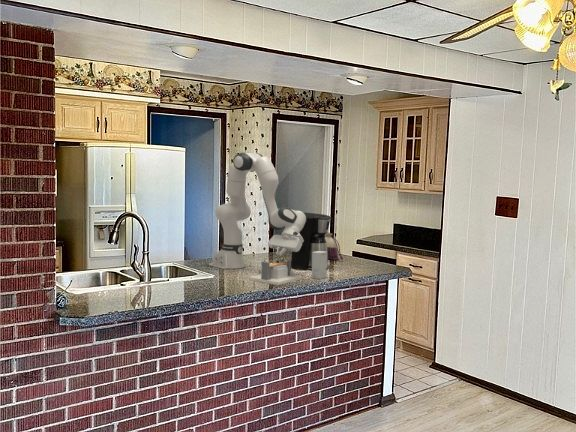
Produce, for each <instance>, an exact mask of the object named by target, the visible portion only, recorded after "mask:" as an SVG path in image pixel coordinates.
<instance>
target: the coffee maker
mask: <svg viewBox="0 0 576 432" xmlns="http://www.w3.org/2000/svg"><path fill="white" fill-rule="evenodd" d="M303 213H304V214H305V216H306V222H305V225H304V227H303V229H302V230H301V231H300V235H301V236H302V238H303V240H304V241H303V243H302V246H301V248H300V250H299V251H298V252H294V251H291V257H290V260H291V269H292V270H293V269H295V270H302V271H312V252H315V251H326V252H327V243H326V240H325V237H324V236H325V234H326V233H327V232H328V233H329V227H330V223H331V220H332V217H331V216H330V215H329V214H328V215H327V214H321V213H315V212H303ZM328 261H329V259H328V252H327V263H328ZM279 262H280V260H276V262H275V263H279ZM284 265H287V264H284ZM328 268H329V265H328V264H327V269H328Z"/></svg>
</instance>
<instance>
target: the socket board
mask: <svg viewBox="0 0 576 432" xmlns="http://www.w3.org/2000/svg"><path fill="white" fill-rule="evenodd" d="M279 262H285V259H283V258H280V260H279ZM286 262H287V265H284V264H282V265H278V266H273V267H269V265H270V264H271V263H270V261H265V260H264V261H261V274H257V275H252V276H249V277H248V281H254V282H258V283H259V282H260V283H264V284H270V285H274V286H281V285H284V284H288V283H293V282H296V281H298V280H299V281H300V280H302V279H303V276H302V275H297V274H291V273H292V272H291V271H292V268H291V259H288V260H286Z"/></svg>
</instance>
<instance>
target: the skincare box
mask: <svg viewBox="0 0 576 432" xmlns="http://www.w3.org/2000/svg"><path fill="white" fill-rule="evenodd" d="M327 265H328V262H327V252H326V251H315V252H312V270H311V278H312V279H318V280H322V279H325V278H327V277H328V276H327V274H328V268H327Z"/></svg>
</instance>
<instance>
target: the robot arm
mask: <svg viewBox="0 0 576 432" xmlns="http://www.w3.org/2000/svg"><path fill="white" fill-rule="evenodd" d="M232 160H233V161H232V163H231V164H230V166H229V169H228V172H227V173H228V174H227V178H226V179H227V181H226V194H227V195H228V196H229V199H230V203H223V204H220V205H218V206H217V207H216V209H215V217H216V219H217V220H218V221H219V222H220V224H221V226H222V229H223V243H222V244H221V245H220V248H221V249H220V250H219V251H218V252H216V253H214V255H213V258H212V261H211V262H210V263H208V266H210V267H214V268H218V269H223V270H225V269H228V270H229V269H231V270H232V269H243V268H245V264H244V260H243V245H244V244H243V231H242V229H241V228H239V226H238V221H239V222H240V221H244V220H247V219H248V218H250V216H251V213H252V210H251V207H250V205H249V204H248V202H247V199H246V194H245V193H246V182H247V174H248V173H249V172H251V173H254V172H255V173H256V176H257V179H258V181H259V184H260V188H261V192H262V198H263V202H264V205H265V208H266V212H267V218H268V219H267V221H268V225H269V227H271V229H273V230H275V231H280V230H282V229H283V231H282V232H281V234H280V233H276V234H274V235H272V236H271V238H270V239H269V241H268V242H267V245H268V247H269V248H270V249H275V250H276V252H275V255H276V256H280V257H281V256H283V254H284V253H286V252H287V251H288V252H292V251H294V252H298V251H299V250H300V248H301V246H302V243H303V241H304V240H303V238H302V236H301V235H300V231H301V230H302V229H303V227H304V225H305V222H306V216H305V214H304V213H305V212H303V211H301V210H296V209H295V210H294V209H291V208H290V207H288V206H286V205H285V206H281V207H279V208H278V205H277V202H276V198H275V195H276V192H277V189H278V186H279V183H280V182H279V175H278V173H277V171H276V168H275V167H274V164H273V163H272V160H271V159H270V158H269V157H268V156H265V155H264V156H263V155H262V154H261V153H258V152H250V151H249V152H239V153H236V155H235V156H234V157H233V159H232Z"/></svg>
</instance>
